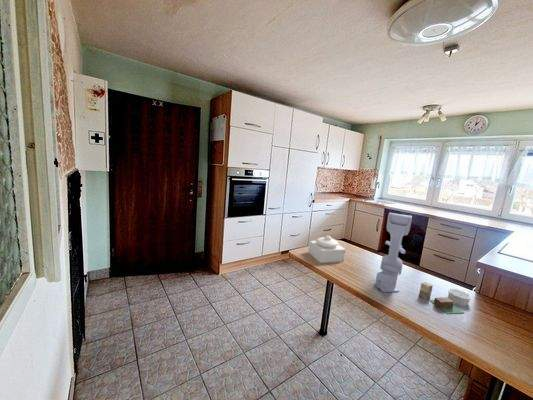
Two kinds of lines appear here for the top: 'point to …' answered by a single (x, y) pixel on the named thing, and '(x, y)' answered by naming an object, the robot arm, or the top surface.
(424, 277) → the top surface
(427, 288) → the maple block
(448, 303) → the walnut block
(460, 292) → the ramekin
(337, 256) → the white lidded box
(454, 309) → the mat
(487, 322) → the top surface
